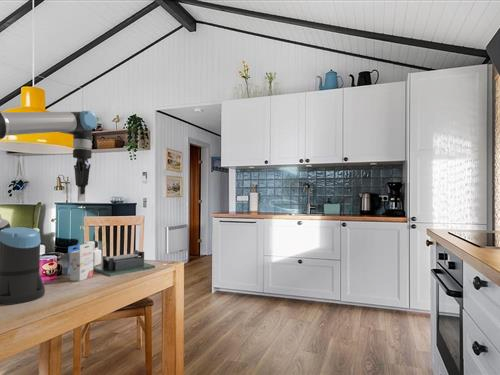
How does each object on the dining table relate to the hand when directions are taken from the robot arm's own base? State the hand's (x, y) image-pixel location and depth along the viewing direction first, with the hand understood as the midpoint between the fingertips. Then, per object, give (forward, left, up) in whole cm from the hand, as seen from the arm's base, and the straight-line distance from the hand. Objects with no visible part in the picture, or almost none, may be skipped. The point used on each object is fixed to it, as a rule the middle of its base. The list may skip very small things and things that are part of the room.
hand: (81, 201), depth 148 cm
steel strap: (+18, -6, -27) cm, 33 cm away
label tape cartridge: (-2, +5, -33) cm, 33 cm away
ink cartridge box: (-3, -10, -33) cm, 34 cm away
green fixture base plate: (+18, -6, -32) cm, 38 cm away
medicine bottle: (+11, +15, -33) cm, 38 cm away
